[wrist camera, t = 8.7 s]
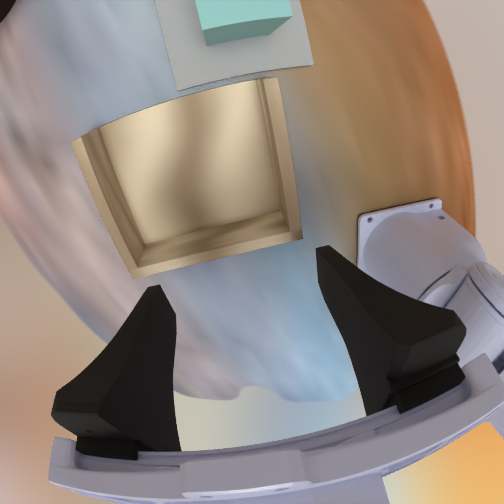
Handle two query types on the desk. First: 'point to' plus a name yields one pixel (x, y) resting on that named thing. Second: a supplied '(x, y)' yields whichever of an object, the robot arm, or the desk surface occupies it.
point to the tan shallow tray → (195, 177)
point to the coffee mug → (5, 7)
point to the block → (240, 18)
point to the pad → (228, 46)
